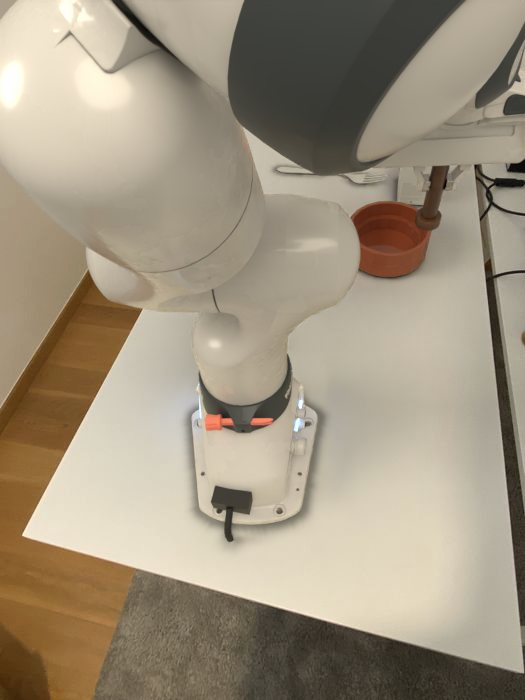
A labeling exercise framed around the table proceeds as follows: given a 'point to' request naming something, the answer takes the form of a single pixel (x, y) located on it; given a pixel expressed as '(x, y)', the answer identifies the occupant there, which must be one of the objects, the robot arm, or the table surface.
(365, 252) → the bowl
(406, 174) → the small box
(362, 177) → the fork
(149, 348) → the table surface
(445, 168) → the masher
